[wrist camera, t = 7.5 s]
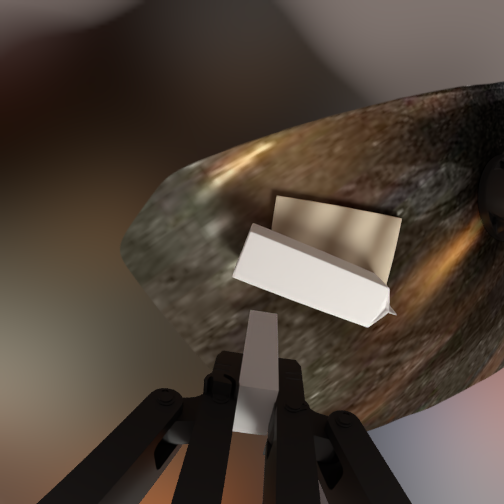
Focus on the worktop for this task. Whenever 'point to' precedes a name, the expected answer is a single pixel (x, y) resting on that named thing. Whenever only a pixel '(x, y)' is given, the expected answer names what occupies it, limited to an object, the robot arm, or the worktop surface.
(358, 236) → the board
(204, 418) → the robot arm
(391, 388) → the worktop surface
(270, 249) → the white carton-shaped block
